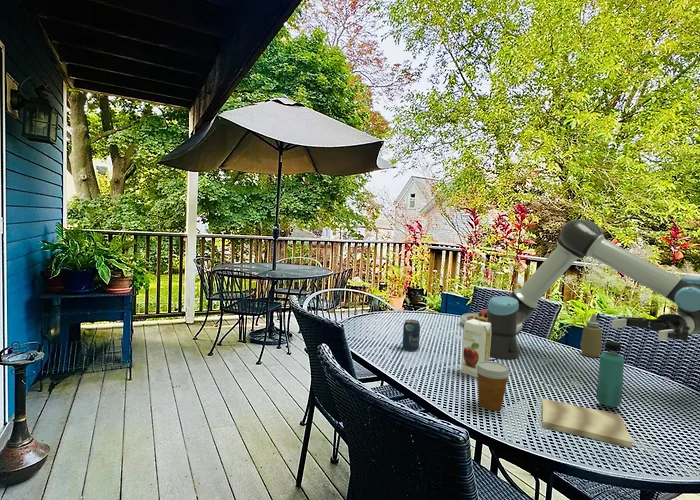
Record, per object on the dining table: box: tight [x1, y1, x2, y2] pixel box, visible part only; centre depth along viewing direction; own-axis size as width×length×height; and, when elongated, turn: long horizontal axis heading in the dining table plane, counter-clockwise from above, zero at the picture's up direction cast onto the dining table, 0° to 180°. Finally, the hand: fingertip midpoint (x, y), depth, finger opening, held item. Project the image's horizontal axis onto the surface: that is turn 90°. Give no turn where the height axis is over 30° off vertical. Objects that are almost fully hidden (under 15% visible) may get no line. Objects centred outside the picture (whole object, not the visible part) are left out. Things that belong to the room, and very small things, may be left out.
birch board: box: [541, 398, 633, 449], centre depth 110 cm, size 20×16×2 cm
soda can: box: [402, 319, 421, 352], centre depth 168 cm, size 7×7×12 cm
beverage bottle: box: [595, 341, 625, 408], centre depth 121 cm, size 6×7×20 cm
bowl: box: [461, 308, 523, 334], centre depth 209 cm, size 30×30×8 cm
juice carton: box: [460, 319, 491, 379], centre depth 143 cm, size 8×9×19 cm
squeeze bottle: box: [580, 313, 603, 358], centre depth 171 cm, size 8×8×18 cm
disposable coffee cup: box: [476, 360, 511, 411], centre depth 118 cm, size 10×10×12 cm
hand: (635, 329), depth 124 cm, fingers open, 13 cm apart
